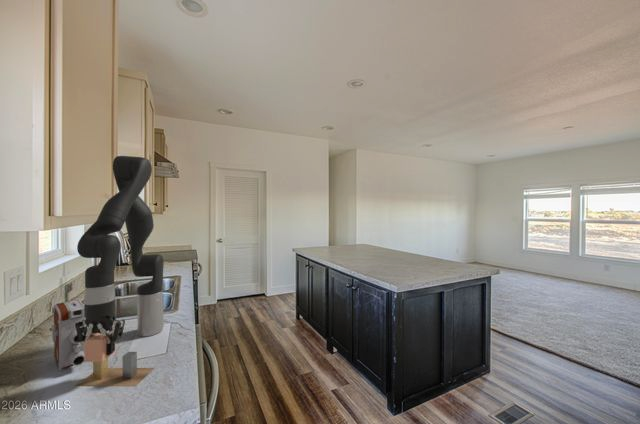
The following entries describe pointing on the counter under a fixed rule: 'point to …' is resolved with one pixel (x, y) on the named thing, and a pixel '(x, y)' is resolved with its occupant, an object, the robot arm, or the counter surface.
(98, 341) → the peach foam brick
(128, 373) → the steel post
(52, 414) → the counter surface
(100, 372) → the brass post
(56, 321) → the cine camera
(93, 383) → the board
